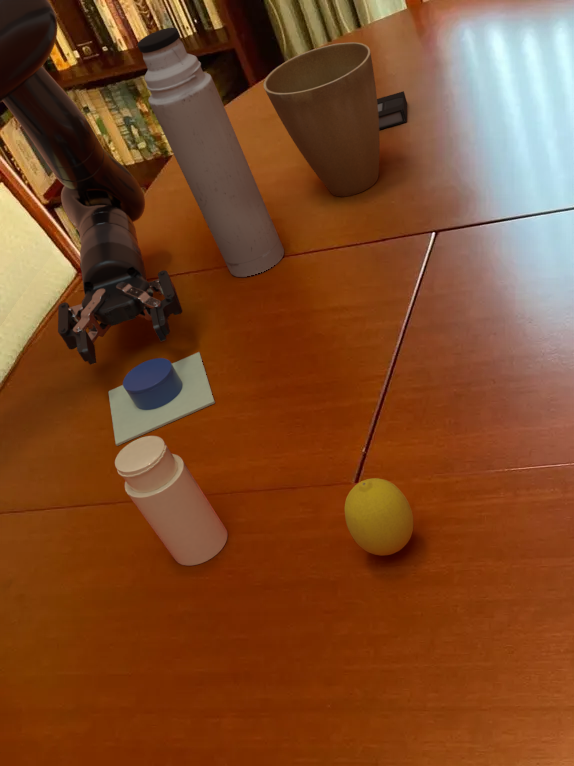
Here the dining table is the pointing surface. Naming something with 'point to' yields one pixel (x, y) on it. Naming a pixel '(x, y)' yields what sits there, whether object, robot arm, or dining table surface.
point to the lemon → (378, 516)
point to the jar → (171, 500)
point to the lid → (152, 384)
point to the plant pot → (331, 113)
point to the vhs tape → (392, 110)
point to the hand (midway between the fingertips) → (124, 346)
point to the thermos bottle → (209, 154)
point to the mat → (139, 422)
